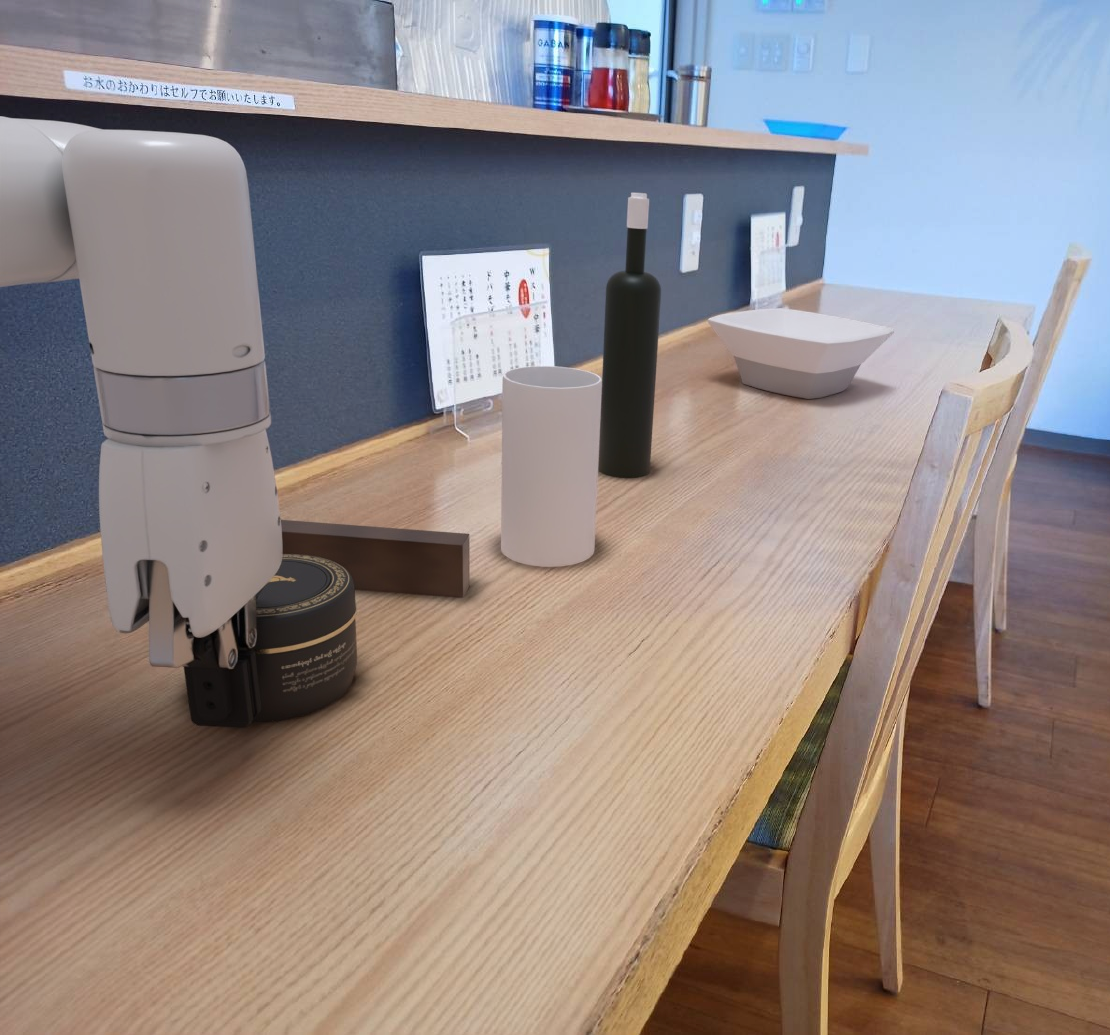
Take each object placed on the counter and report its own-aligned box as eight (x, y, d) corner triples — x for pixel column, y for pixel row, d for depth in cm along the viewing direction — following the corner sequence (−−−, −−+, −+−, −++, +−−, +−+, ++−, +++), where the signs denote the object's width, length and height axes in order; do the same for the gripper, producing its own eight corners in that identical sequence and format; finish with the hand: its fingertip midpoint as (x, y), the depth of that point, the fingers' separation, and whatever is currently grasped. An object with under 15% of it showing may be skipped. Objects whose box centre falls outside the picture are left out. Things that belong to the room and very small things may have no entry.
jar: (160, 691, 62) (146, 581, 59) (302, 638, 70) (295, 539, 67) (248, 753, 57) (237, 635, 54) (392, 689, 64) (388, 583, 62)
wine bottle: (659, 475, 110) (678, 196, 100) (625, 486, 106) (641, 195, 96) (622, 463, 114) (637, 191, 103) (587, 473, 109) (598, 190, 99)
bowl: (689, 382, 156) (694, 317, 152) (774, 363, 175) (780, 305, 172) (821, 414, 143) (830, 344, 139) (897, 390, 162) (907, 328, 158)
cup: (612, 552, 89) (621, 378, 83) (554, 580, 82) (559, 393, 76) (542, 529, 93) (546, 361, 87) (481, 554, 86) (481, 374, 80)
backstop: (231, 586, 76) (225, 527, 75) (245, 574, 79) (239, 516, 77) (463, 604, 77) (462, 544, 75) (469, 591, 79) (469, 533, 77)
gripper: (187, 364, 56) (223, 652, 62) (9, 433, 42) (79, 797, 48) (319, 371, 56) (341, 659, 62) (185, 444, 42) (232, 806, 48)
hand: (227, 718), depth 55 cm, fingers closed
